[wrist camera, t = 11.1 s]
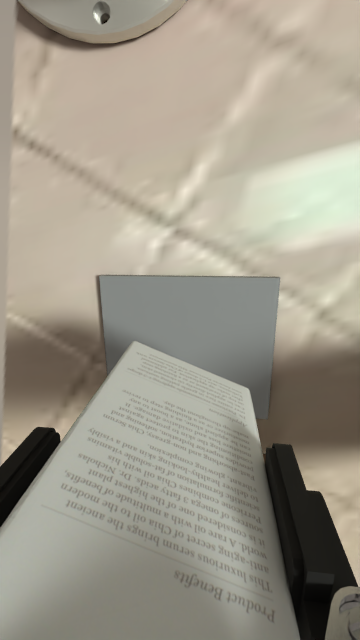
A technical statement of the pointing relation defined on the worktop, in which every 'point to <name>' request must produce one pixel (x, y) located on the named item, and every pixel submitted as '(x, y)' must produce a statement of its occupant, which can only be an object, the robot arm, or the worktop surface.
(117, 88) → the worktop surface
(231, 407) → the skincare box
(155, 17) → the robot arm
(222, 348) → the rubber mat
